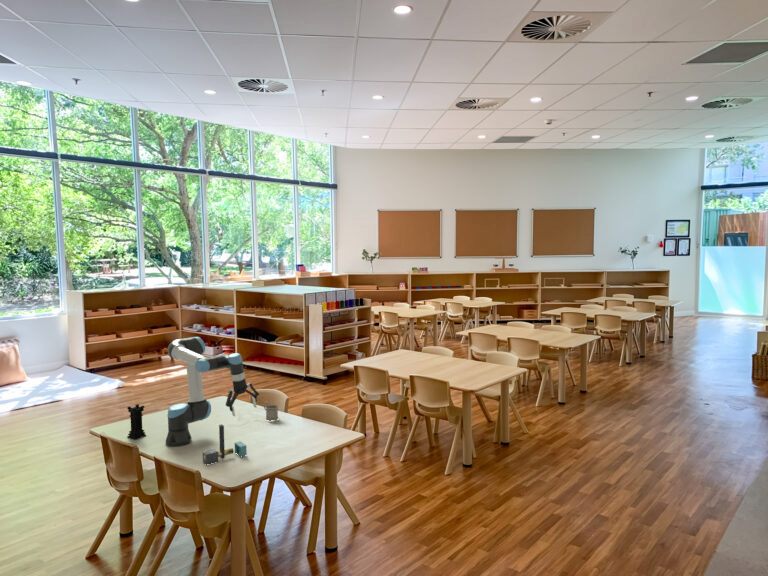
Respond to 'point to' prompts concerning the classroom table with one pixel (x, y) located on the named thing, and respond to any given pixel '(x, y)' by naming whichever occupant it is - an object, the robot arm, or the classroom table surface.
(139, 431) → the chess piece
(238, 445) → the teal socket block
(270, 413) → the mug
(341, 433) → the classroom table surface
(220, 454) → the dark grey post stand
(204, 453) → the graphite sleeve
